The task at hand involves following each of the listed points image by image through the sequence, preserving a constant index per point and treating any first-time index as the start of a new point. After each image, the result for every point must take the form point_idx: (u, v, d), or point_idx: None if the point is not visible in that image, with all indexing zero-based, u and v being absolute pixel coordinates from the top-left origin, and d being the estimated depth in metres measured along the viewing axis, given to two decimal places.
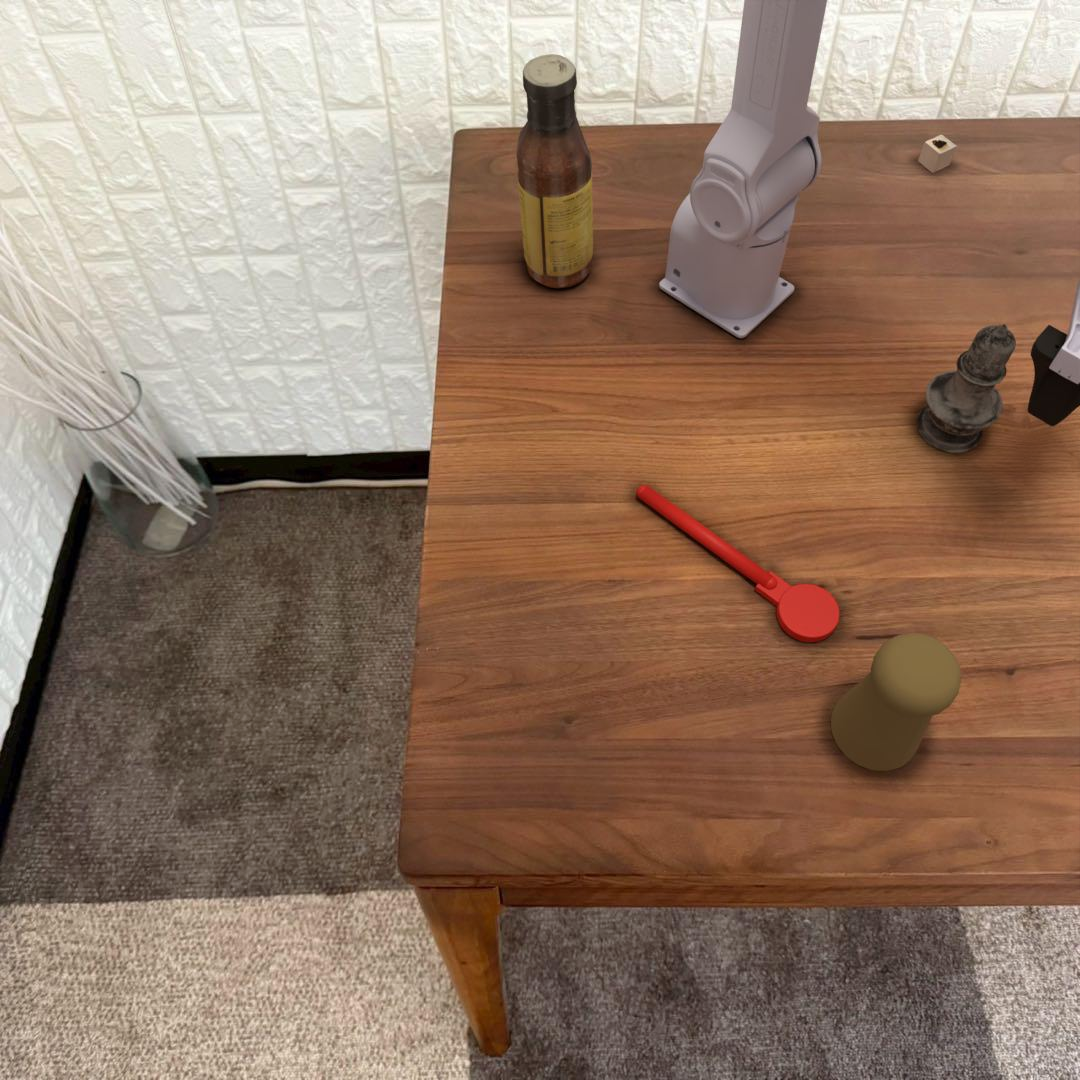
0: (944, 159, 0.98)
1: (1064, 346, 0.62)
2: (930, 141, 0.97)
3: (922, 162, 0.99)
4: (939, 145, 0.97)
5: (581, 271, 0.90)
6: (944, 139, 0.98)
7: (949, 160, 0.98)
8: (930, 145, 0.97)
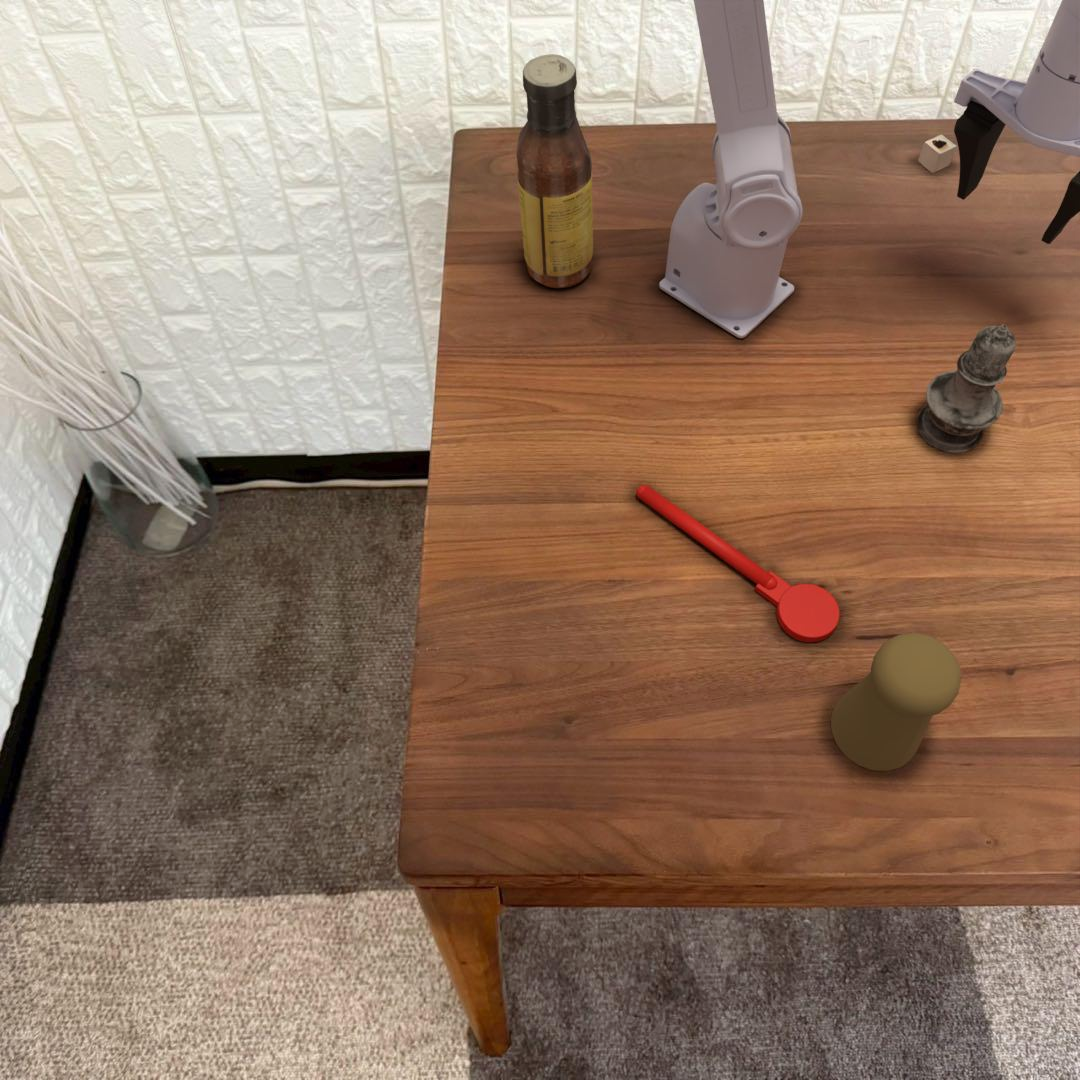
0: (944, 159, 0.98)
1: None
2: (930, 141, 0.97)
3: (922, 162, 0.99)
4: (939, 145, 0.97)
5: (581, 271, 0.90)
6: (944, 139, 0.98)
7: (949, 160, 0.98)
8: (930, 145, 0.97)
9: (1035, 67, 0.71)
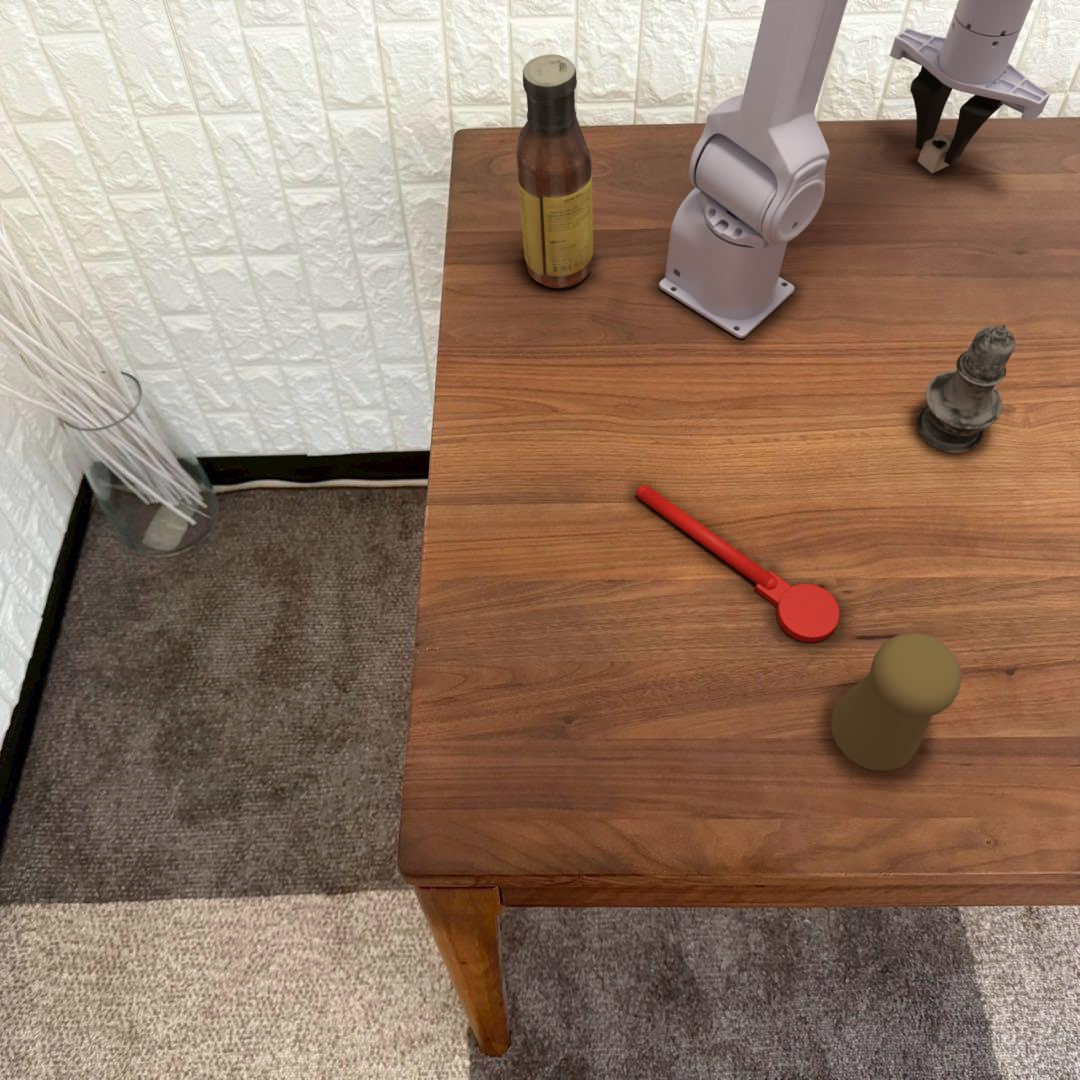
0: (944, 159, 0.98)
1: (1037, 102, 0.87)
2: (930, 141, 0.97)
3: (922, 162, 0.99)
4: (939, 145, 0.97)
5: (581, 271, 0.90)
6: (943, 139, 0.98)
7: None
8: (930, 145, 0.97)
9: (951, 23, 0.87)
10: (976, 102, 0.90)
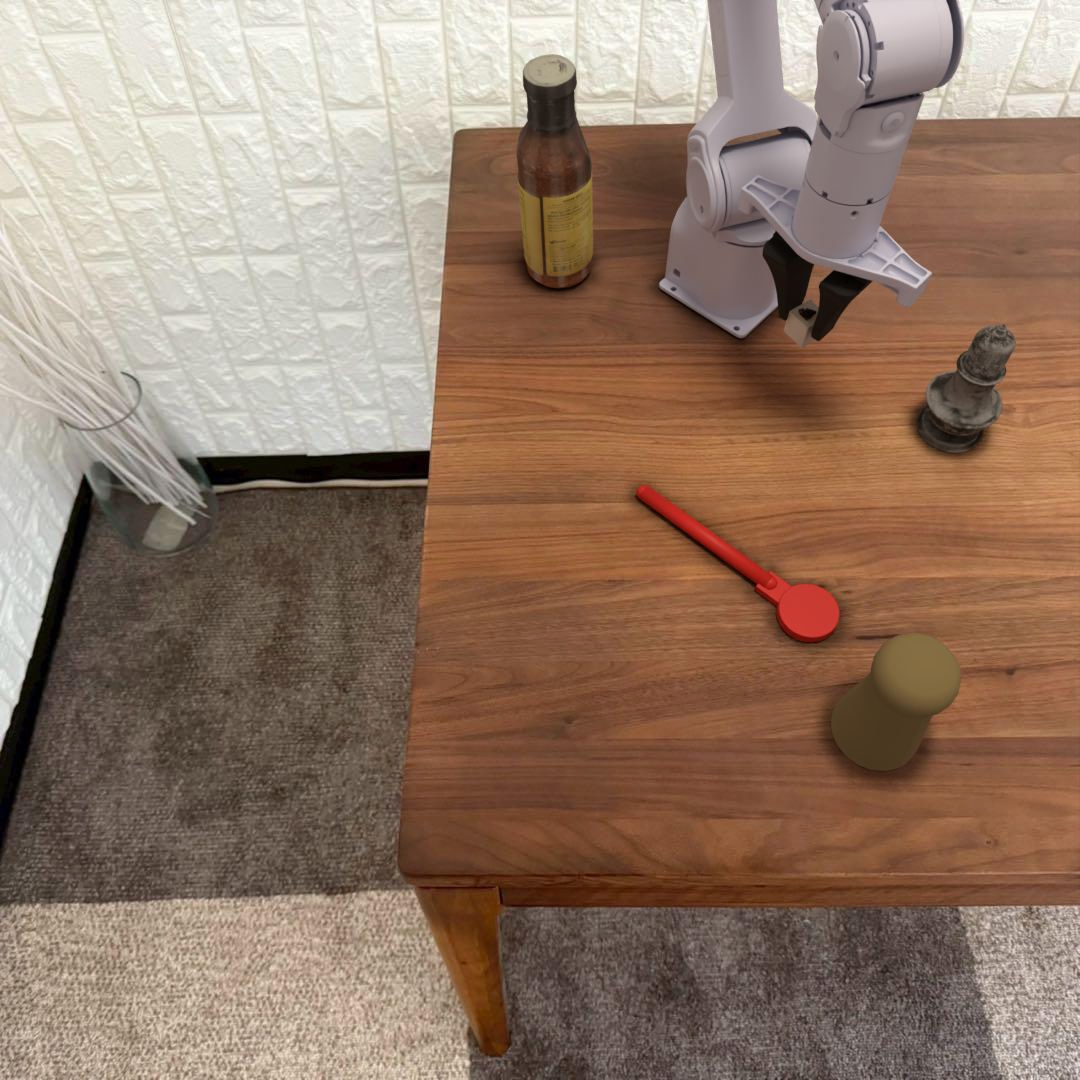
0: None
1: (913, 285, 0.67)
2: (796, 310, 0.77)
3: (788, 333, 0.79)
4: (807, 316, 0.77)
5: (581, 271, 0.90)
6: (813, 306, 0.77)
7: None
8: (796, 316, 0.77)
9: (802, 182, 0.67)
10: (840, 276, 0.70)
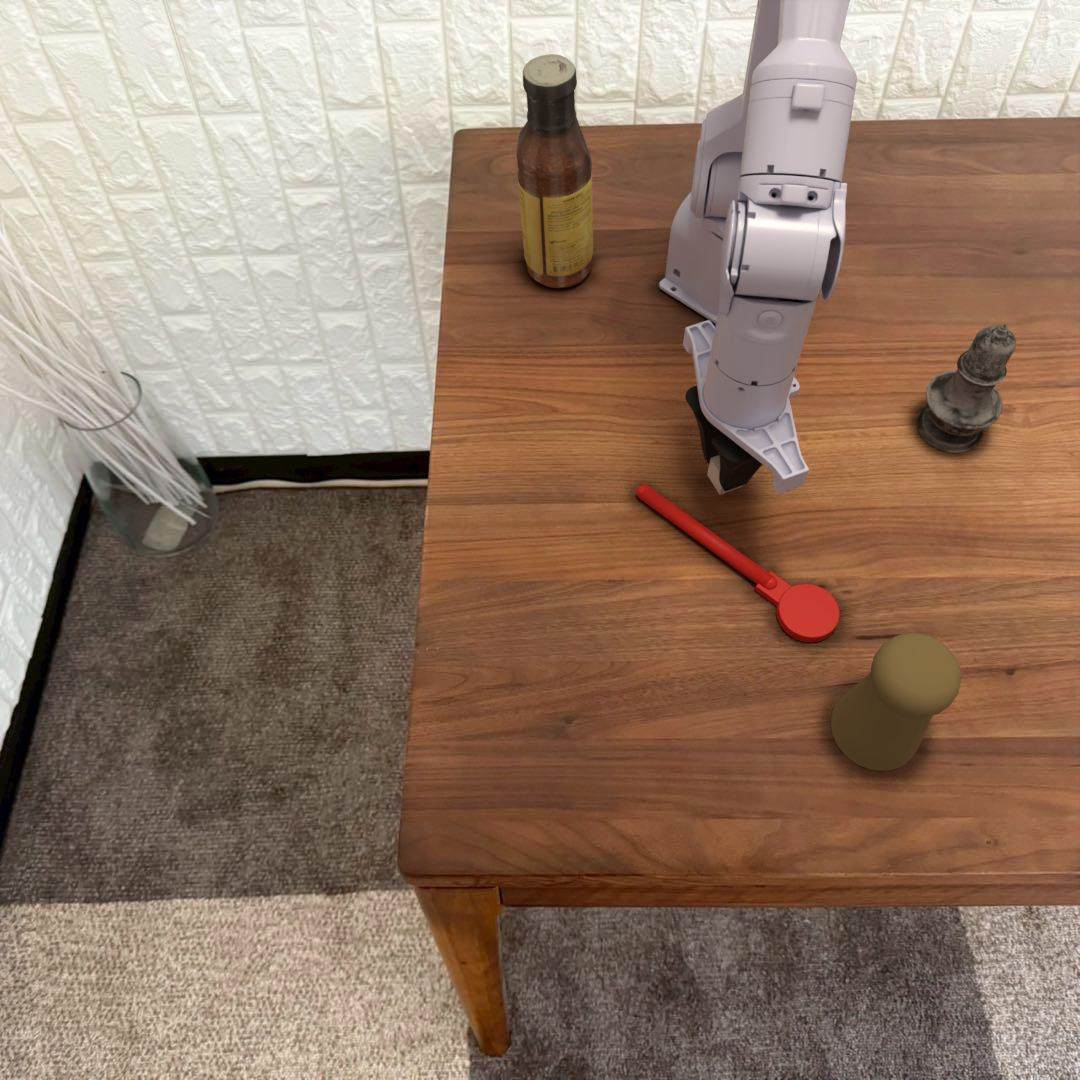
0: None
1: (782, 476, 0.67)
2: (717, 458, 0.78)
3: (710, 478, 0.79)
4: None
5: (581, 271, 0.90)
6: None
7: None
8: (715, 464, 0.77)
9: None
10: None
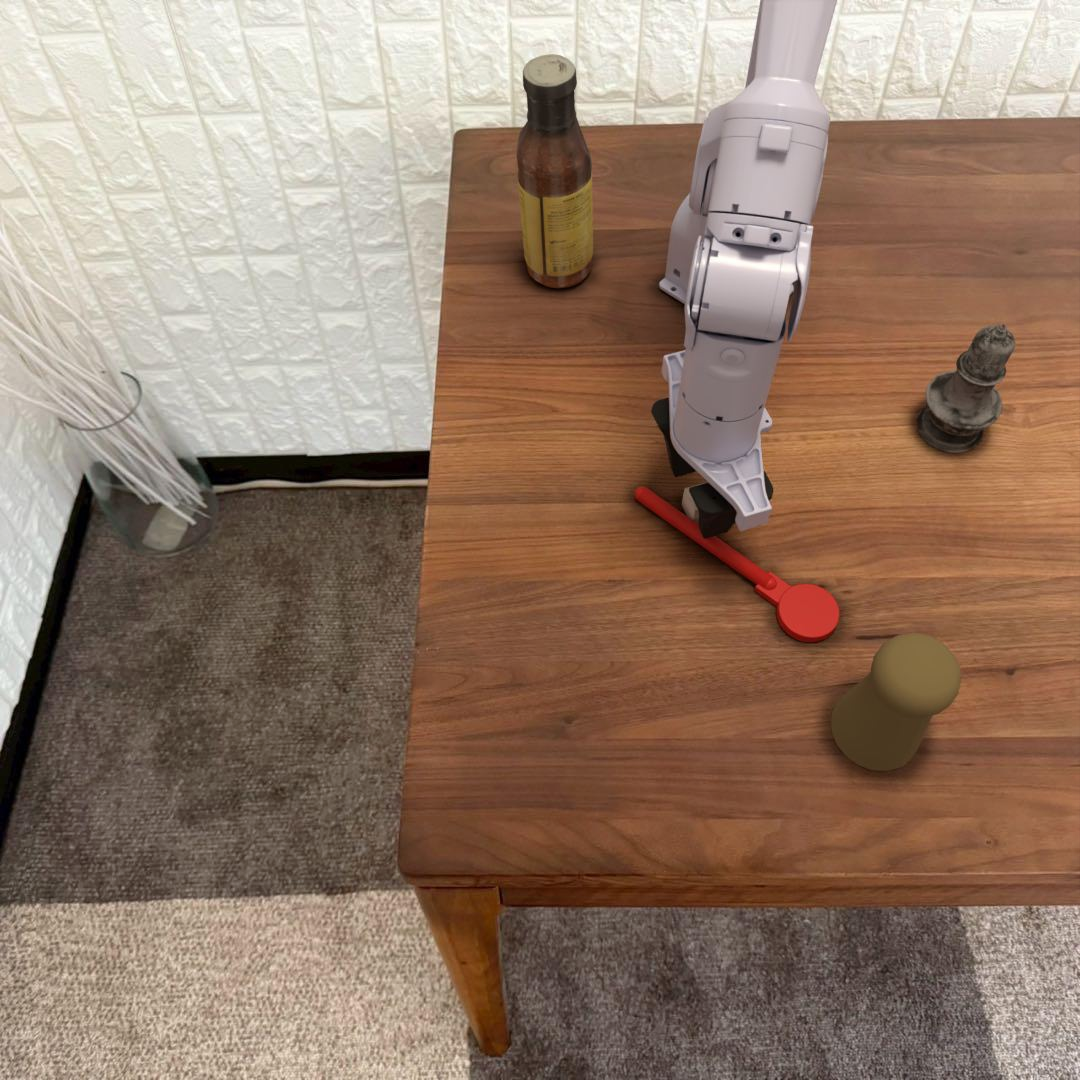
0: None
1: (744, 513, 0.66)
2: None
3: (684, 508, 0.79)
4: None
5: (581, 271, 0.90)
6: None
7: None
8: (689, 495, 0.77)
9: None
10: (712, 490, 0.70)
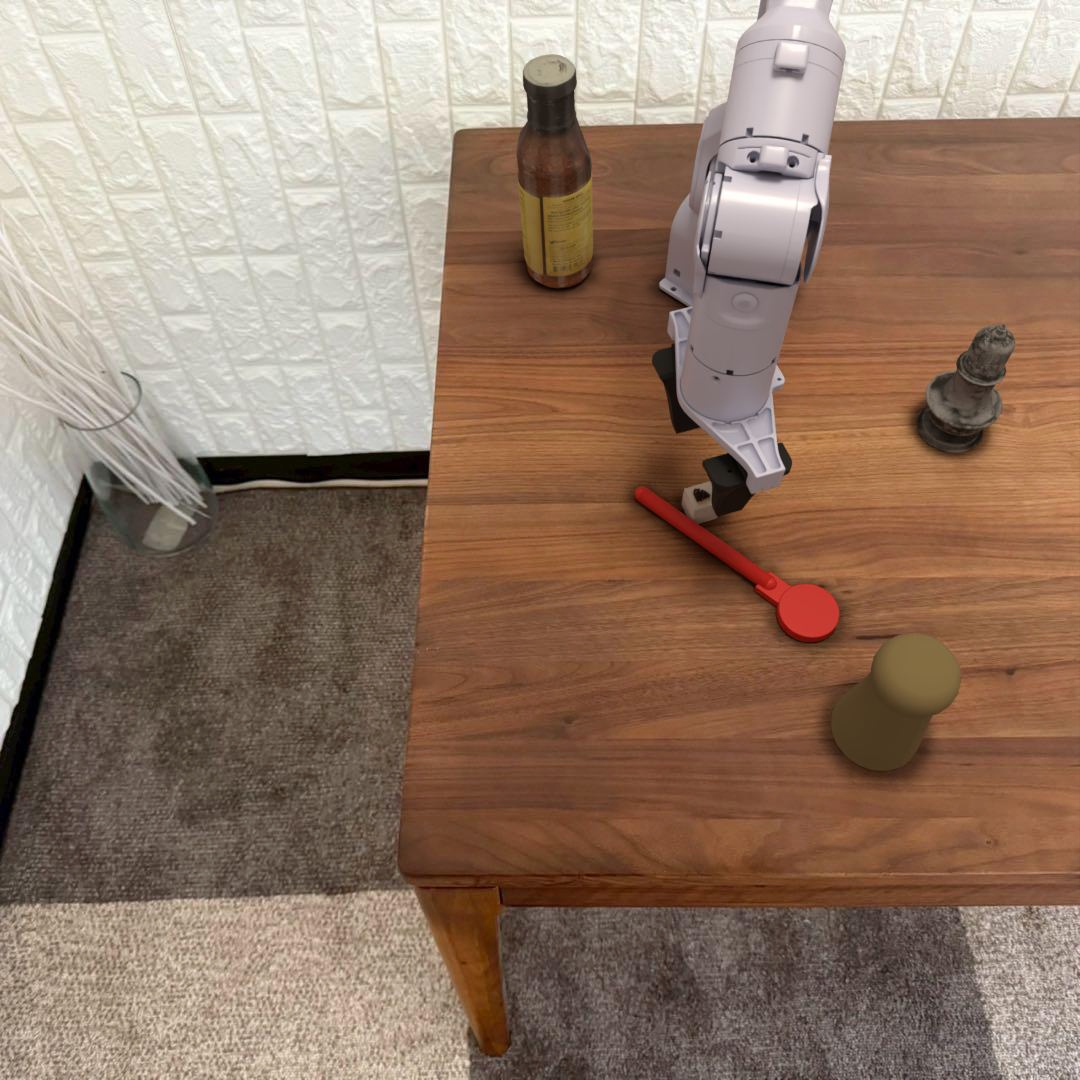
0: (706, 514, 0.77)
1: (755, 474, 0.62)
2: (691, 489, 0.77)
3: (684, 508, 0.79)
4: (699, 497, 0.77)
5: (581, 271, 0.90)
6: (710, 489, 0.77)
7: (715, 514, 0.78)
8: (688, 495, 0.77)
9: None
10: (727, 463, 0.65)
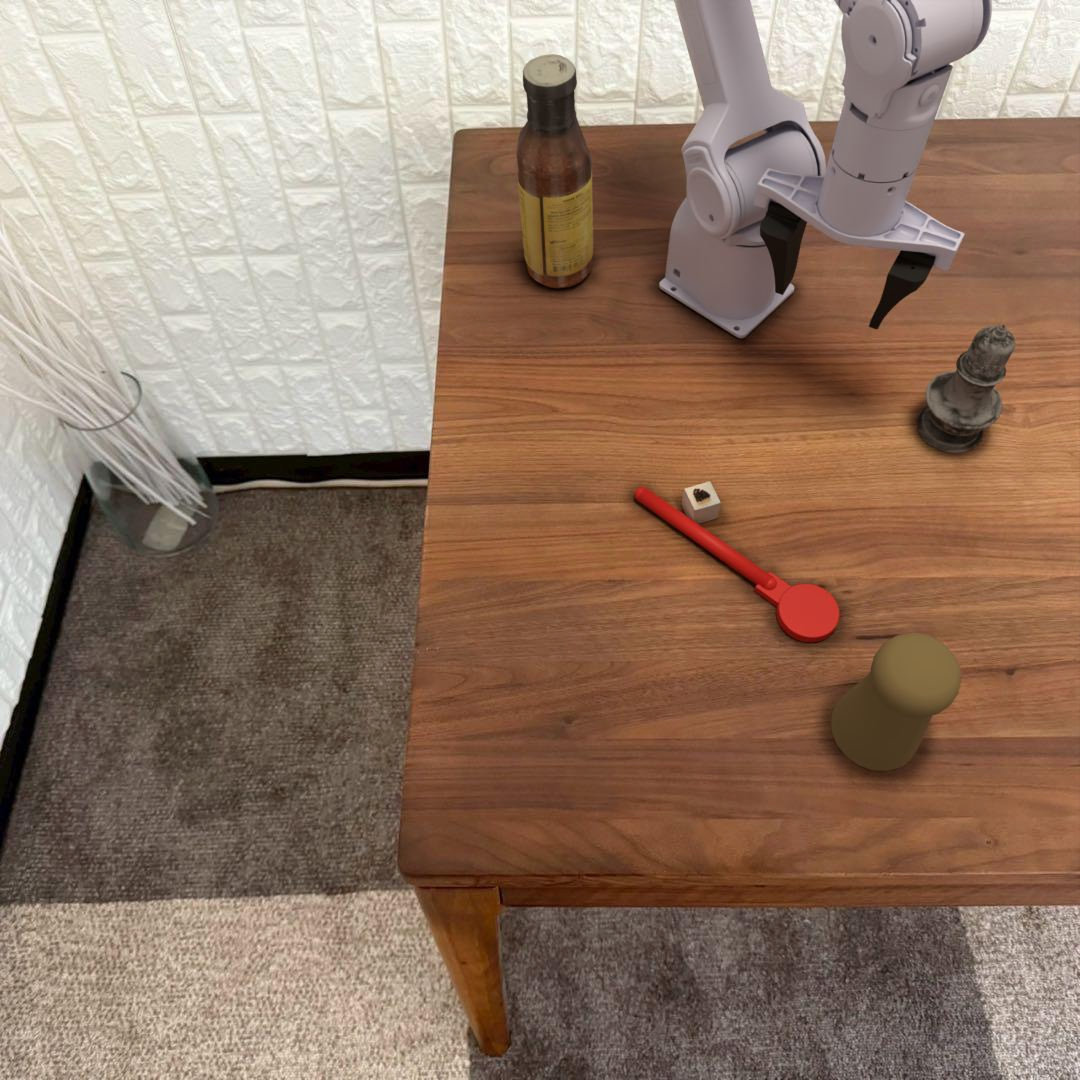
0: (706, 514, 0.77)
1: (952, 249, 0.68)
2: (691, 489, 0.77)
3: (684, 508, 0.79)
4: (699, 497, 0.77)
5: (581, 271, 0.90)
6: (710, 489, 0.77)
7: (715, 514, 0.78)
8: (688, 495, 0.77)
9: (830, 168, 0.68)
10: (905, 263, 0.71)
